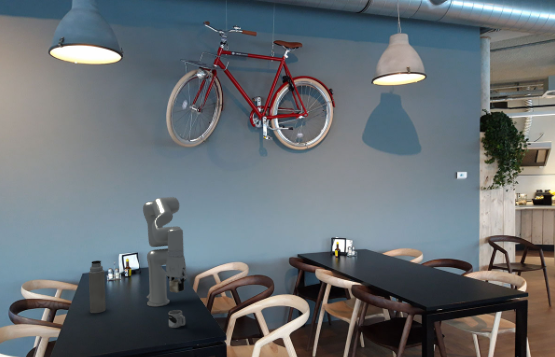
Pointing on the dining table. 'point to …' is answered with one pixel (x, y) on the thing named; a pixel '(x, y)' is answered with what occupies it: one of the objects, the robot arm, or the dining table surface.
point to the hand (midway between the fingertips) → (177, 289)
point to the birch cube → (174, 285)
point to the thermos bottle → (97, 287)
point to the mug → (176, 319)
